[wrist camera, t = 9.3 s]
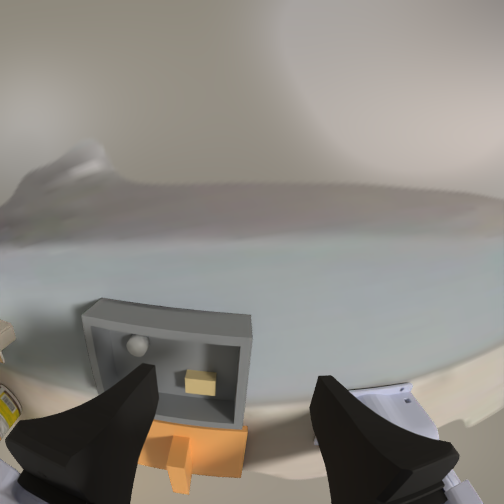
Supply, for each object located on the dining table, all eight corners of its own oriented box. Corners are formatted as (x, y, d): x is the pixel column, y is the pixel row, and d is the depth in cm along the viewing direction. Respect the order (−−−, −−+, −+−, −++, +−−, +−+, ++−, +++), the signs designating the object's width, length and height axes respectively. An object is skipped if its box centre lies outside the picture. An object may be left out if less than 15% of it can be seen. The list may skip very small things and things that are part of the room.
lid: (247, 419, 23) (249, 464, 17) (240, 466, 25) (241, 504, 19) (124, 402, 22) (105, 441, 17) (138, 452, 24) (127, 487, 19)
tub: (250, 314, 20) (252, 337, 17) (241, 402, 22) (242, 429, 19) (102, 297, 20) (81, 315, 16) (115, 384, 21) (102, 406, 18)
